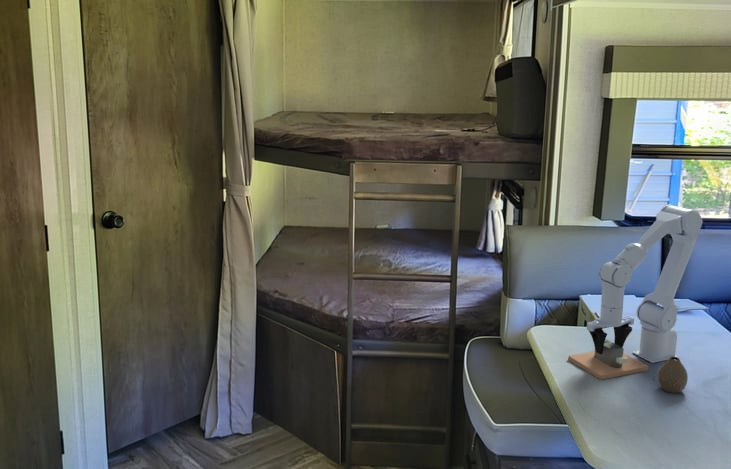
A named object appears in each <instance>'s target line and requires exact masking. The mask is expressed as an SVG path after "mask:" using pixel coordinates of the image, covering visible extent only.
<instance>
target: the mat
mask: <svg viewBox="0 0 731 469" xmlns="http://www.w3.org/2000/svg"><path fill="white" fill-rule="evenodd" d="M594 353H595V350H593V351H587V352H581V353H577V354H570V355H568V361H570V362H571V363H573V364H575V365H576V366H578V367H579V368H581V369H582V370H584V371H586V372H587V373H589V374H591V375H592V376H594V377H596V378H598V380H606V379H610V378H615V377H616V378H617V377H621V376H626V375H631V374H636V373H641V372H646V371H649V365H647V364H645V363H643V362H642V361H639V359H638V360H637V359H636V358H634V357H632V356H631V355H629V354H628V353H625V352H623V356H624V357H626V358H628V359H627V363H622V367H621V368H613V367H611V366H609V365H607V364H605V363H604V362H602V361H600V360H598V359H597V358H595V357H594Z"/></svg>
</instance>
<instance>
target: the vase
mask: <svg viewBox="0 0 731 469" xmlns="http://www.w3.org/2000/svg"><path fill="white" fill-rule="evenodd" d="M657 377H658V378H657V379H658V383H659V386H660V388H662V389H663V390H664V391H665V392H668V393H671V394H678V393H680V392H682V391H683V390H684V389H685V388H686V386H687V385H688V372H687V369H686V367H685V366H684V364H683V363H682V361H681V359H680V357H678V356H677V357H670V358H669V359H668V360H665V361H664V363H663V364H662V365H661V366H660V367H659V370H658V373H657Z"/></svg>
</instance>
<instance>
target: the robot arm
mask: <svg viewBox="0 0 731 469" xmlns="http://www.w3.org/2000/svg"><path fill="white" fill-rule="evenodd" d="M703 222H704V221H703V219H702V216H701V214H700V212H699V211H698V210H696V209H688V208H684V207H680V206H675V205H673V204H666V205H664V206H663V207H662V208H660V211H658V212H657V213H656V217H655V221H654V222H653V224H651V225H650V227H649V228H648V229H647V230H646V231H645V233H644V234H642V236H641V237H640V238H639V239H638V240H637V242H636V243H634V242H631V243H628V244H627V245H625V246H624V248H623V250H622V251H621V252H620V253H618V255H616V256H615V257H614V258H613V259H612V260H611V261H608V262H605V263H604V264H602V266H600V270H599V271H598V272H597V273H598V274H597V275H598V278H599V279H600V286H601V298H600V314H599V316H598V318H597V319H595V320H593V321H590V322H586V330H587V331H588V332H589V334H590V336H591V338H592V341H593V345H594V346H593V347H594V351H596V352H597V353H598V354H602V353H603V348H604V342H605V339H607V336H608V333H606V332H605V331H604V329H609V328H613V331H614V342H613V343H614V344H616V345H618V346H620V347H622V348H623V347H624V345H625V342H626V340H627V338H628V337H629V335H630V334H631V333H632V332H633V326H634V325H635V318H634V317H633V316H631V315H627V316H623V311H624V299H625V298H624V297H625V287H626V285H627V284H629V282H630V281H631V277H632V275H633V274H634V271H635V269H636V268H638V266H639V265H641V264H642V263H643V261H645V260H646V259H647V252H648V251H649V250H650V249H651V248H652V247H653V246H654V245H656V244H657V243H658V242H659V241H660V240H662V239H663V238H665V236H666V235H670V236H671V237H672V240H673V241H672V244H671V247H670V248H669V249H670V250H669V251H668V254H667V257H666V260H665V261H664V264H663V267H662V270H661V272H660V274H659V278H658V280H657V283H656V285H655V288H654V291H653V292H651V293H648V294H646V295H644V298H643V300H642V302H640V304H639V305H638V306H637V309H636V318H637V320H639V325H641V331H640V339H639V340H640V342H639V349H638V350H633V351H632V354H634V355H636V356H637V357H640V358H642V359H643V360H646V361H647V362H649V363H651V364H654V363H659V362H666V361H667V360H668V359H669V358H670V357H678V356H677V355H676V352H677V351H676V350H677V342H678V340H677V339H678V333H677V331H676V329H675V328H674V327H675V326H676V323H677V320H678V318H677V317H678V311H679V308H680V307H678V305H677V303H676V301H675V299H674V298H675V296H676V293H677V291H678V288H679V287H680V282H681V280H682V278H683V276H684V273H685V270H686V268H687V265H688V263H689V260H690V258H691V255H692V252H693V250H694V248H695V246H696V244H697V239H698V235H699V232H700V231H701V227H702V225H703ZM632 325H633V326H632ZM623 349H624V348H623Z"/></svg>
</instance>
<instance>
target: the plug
mask: <svg viewBox="0 0 731 469" xmlns="http://www.w3.org/2000/svg"><path fill="white" fill-rule="evenodd" d="M624 350H625V349H624V348H622V347H620V346H618V345H616V344H614V342H613V341H611V340H609V339H607V338H605V342H604V348H603V353H602V354H598V353H597V352H596V351H595V350H594V351H595V353H594V357H595V358H597V359H598V360H600V361H602V362H604V363H605V364H607V365H609V366H611V367H613V368H621V367H622V363H627V359H628V358H626V357H624V356H623V353H624Z"/></svg>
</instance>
